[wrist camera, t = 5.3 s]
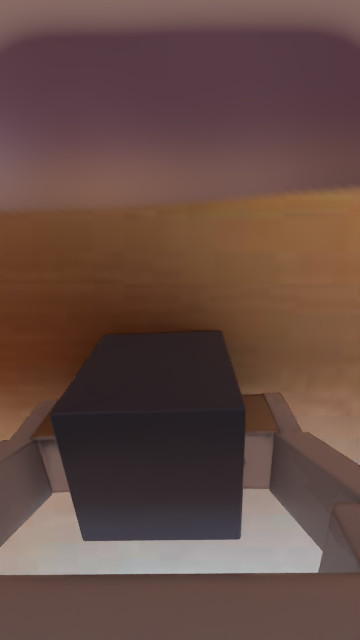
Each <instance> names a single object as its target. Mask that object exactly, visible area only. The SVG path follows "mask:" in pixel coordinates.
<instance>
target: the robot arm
mask: <svg viewBox="0 0 360 640" xmlns="http://www.w3.org/2000/svg"><path fill="white" fill-rule="evenodd" d="M242 397H243V401H244V404H245V407H246V427H245V450H244V473H243V488H252V489H270V491H271V493H272V494H273V495H274V496H275V497H276V498H277V499H278V501H279V502H280V503H281V504H282V505H283V506H284V507H285V509H286V510H287V511H288V512H289V513H290V514H291V515H292V517H293V518H294V519H295V520H296V521H297V522H298V523H299V525H300V526H301V527H302V528H303V529H304V530H305V531H306V533H307V534H308V535H309V536H310V537H311V538H312V539H313V541H314V542H315V543H316V544H317V545H318V546H319V547H320V549H321V550H322V551H323V554H322V558H321V563H320V567H319V572H318V573H227V574H100V575H0V640H360V465H358V464H357V463H355V462H354V461H352V460H351V459H349V458H348V457H346V456H344V455H343V454H341V453H340V452H338V451H337V450H335V449H334V448H332V447H330V446H329V445H327V444H326V443H324V442H323V441H321V440H320V439H318V438H316V437H315V436H313V435H312V434H310V433H309V432H302V430H301V428H300V426H299V424H298V423H297V421H296V419H295V417H294V415H293V414H292V412H291V410H290V408H289V406H288V405H287V403H286V401H285V399H284V397H283V396H282V394H281V393H279V392H277V393H262V394H248V395H242ZM58 401H59V399H55V400H43V401H40V402H39V404H38V405H37V406H36V407H35V409H34V410H33V411H32V412H31V414H30V415H29V416H28V417H27V419H26V420H25V421H24V422H23V424H22V425H21V426H20V427H19V429H18V430H17V431H16V432H15V434H14V435H13V436H12V437H11V439H10V440H3V441H2V442H0V547H1V546H2V545H3V544H4V543H5V542H6V541H7V539H8V538H9V537H10V536H11V535H12V534H13V533H14V532H15V531H16V530H17V529H18V528H19V527H20V526H21V525H22V524H23V523H24V522H25V521H26V520H27V519H28V518H29V517H30V516H31V515H32V514H33V513H34V512H35V511H36V510H37V509H38V508H39V507H40V506H41V505H42V504H43V503H44V502H45V501H46V500H47V499H48V498H49V497H50V496H51V495H52V493H56V492H70V490H69V486H68V482H67V479H66V475H65V471H64V468H63V464H62V460H61V457H60V453H59V449H58V445H57V442H56V438H55V434H54V431H53V427H52V423H51V420H50V412H51V411H52V409H53V408H54V407H55V405H56V404H57V402H58Z"/></svg>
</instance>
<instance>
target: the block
mask: <svg viewBox="0 0 360 640" xmlns="http://www.w3.org/2000/svg"><path fill="white" fill-rule="evenodd" d="M50 420H51V423H52V427H53V431H54V434H55V438H56V442H57V445H58V449H59V453H60V457H61V460H62V464H63V468H64V471H65V475H66V479H67V482H68V486H69V490H70V493H71V497H72V501H73V505H74V508H75V512H76V516H77V519H78V523H79V527H80V530H81V534H82V538H83V540H84V541H132V540H227V539H240V537H241V519H242V496H243V473H244V450H245V427H246V407H245V404H244V401H243V397H242V394H241V391H240V388H239V385H238V381H237V378H236V375H235V372H234V369H233V365H232V362H231V359H230V356H229V353H228V350H227V346H226V343H225V340H224V337H223V334H222V331H199V332H172V333H146V334H120V335H104V336H103V337H102V339H101V340H100V342H99V343H98V344H97V346H96V347H95V349H94V350H93V352H92V353H91V355H90V356H89V357H88V359H87V360H86V362H85V363H84V365H83V366H82V368H81V369H80V370H79V372H78V373H77V375H76V376H75V378H74V379H73V381H72V382H71V383H70V385H69V386H68V388H67V389H66V391H65V392H64V394H63V395H62V396H61V398H60V399H59V401H58V402H57V404H56V405H55V407H54V408H53V409H52V411H51V412H50Z"/></svg>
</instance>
